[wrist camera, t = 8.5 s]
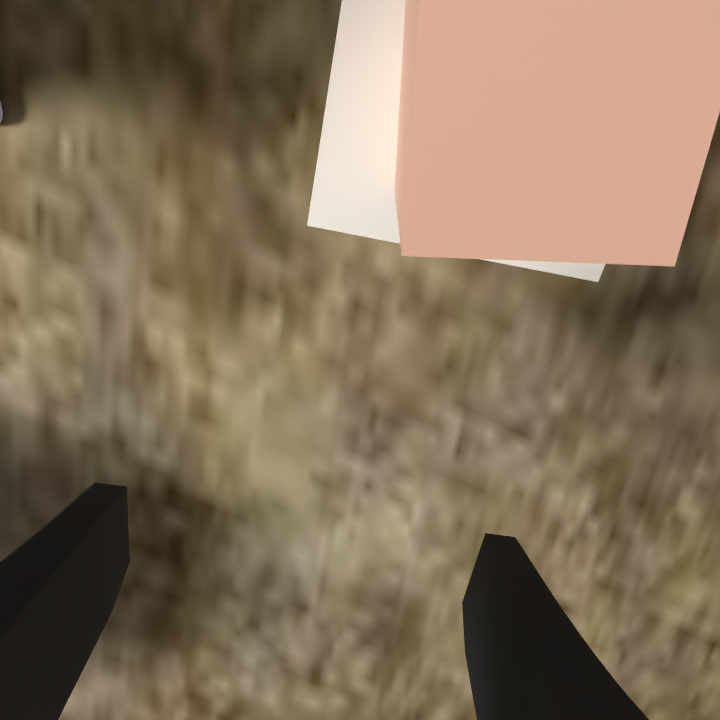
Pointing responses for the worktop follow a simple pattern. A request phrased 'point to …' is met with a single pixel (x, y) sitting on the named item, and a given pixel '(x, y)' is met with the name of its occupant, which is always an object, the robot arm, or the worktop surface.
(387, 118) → the cream base block
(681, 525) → the worktop surface
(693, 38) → the terracotta cube
